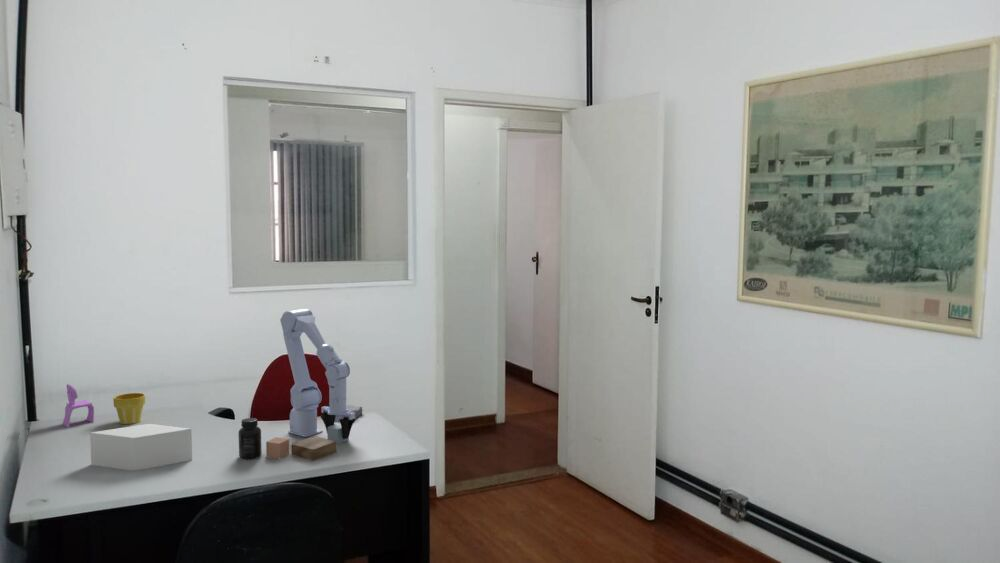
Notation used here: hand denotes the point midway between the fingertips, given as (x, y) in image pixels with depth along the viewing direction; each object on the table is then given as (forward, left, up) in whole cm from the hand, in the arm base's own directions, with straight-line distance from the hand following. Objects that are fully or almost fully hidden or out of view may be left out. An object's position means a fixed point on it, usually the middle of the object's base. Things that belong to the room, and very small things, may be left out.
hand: (338, 436), depth 240 cm
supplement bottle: (-10, -28, -2) cm, 30 cm away
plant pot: (-77, -31, -2) cm, 83 cm away
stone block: (-19, +21, -2) cm, 29 cm away
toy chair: (-90, -43, -2) cm, 100 cm away
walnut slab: (+4, -14, -2) cm, 15 cm away
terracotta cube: (-4, -22, -2) cm, 22 cm away
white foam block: (-32, -51, -2) cm, 60 cm away
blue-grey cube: (0, 0, -2) cm, 2 cm away
